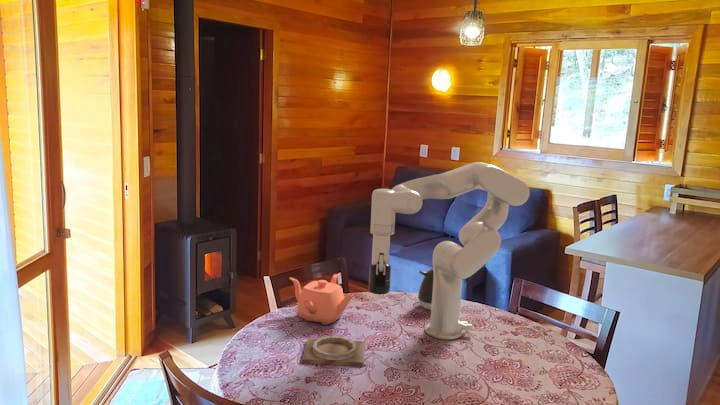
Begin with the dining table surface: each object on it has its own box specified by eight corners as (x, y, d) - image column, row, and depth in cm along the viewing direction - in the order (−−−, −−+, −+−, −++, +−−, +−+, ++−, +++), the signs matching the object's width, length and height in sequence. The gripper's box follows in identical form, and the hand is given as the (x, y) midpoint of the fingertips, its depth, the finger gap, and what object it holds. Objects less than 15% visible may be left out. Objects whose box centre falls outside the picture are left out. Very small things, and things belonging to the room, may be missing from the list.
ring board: (364, 344, 170) (364, 336, 170) (363, 366, 157) (363, 357, 156) (307, 341, 171) (307, 334, 170) (302, 362, 157) (302, 354, 156)
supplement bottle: (387, 296, 168) (389, 259, 166) (366, 293, 170) (368, 257, 167) (391, 289, 175) (393, 253, 173) (370, 286, 176) (372, 251, 174)
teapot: (288, 311, 194) (289, 275, 192) (335, 305, 202) (337, 270, 199) (303, 331, 178) (304, 292, 176) (354, 325, 185) (356, 286, 183)
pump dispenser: (416, 301, 210) (419, 264, 207) (443, 303, 209) (446, 266, 206) (416, 311, 200) (419, 272, 197) (445, 313, 199) (448, 274, 196)
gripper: (370, 221, 177) (368, 273, 180) (370, 234, 160) (367, 291, 163) (393, 222, 177) (390, 274, 180) (395, 235, 160) (392, 292, 163)
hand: (379, 282), depth 172 cm, fingers closed on supplement bottle, 6 cm apart
